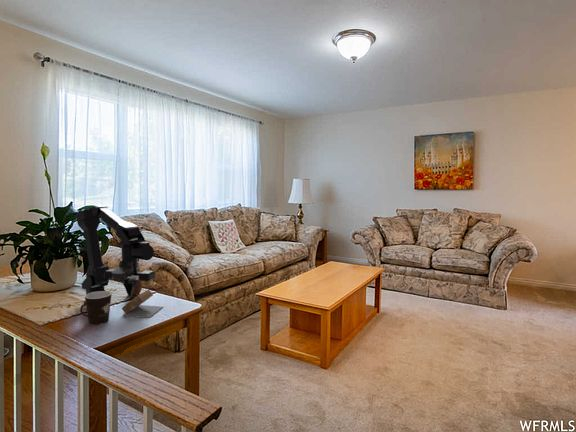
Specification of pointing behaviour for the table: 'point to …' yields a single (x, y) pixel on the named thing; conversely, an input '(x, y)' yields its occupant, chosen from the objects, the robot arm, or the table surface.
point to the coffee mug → (97, 307)
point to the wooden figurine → (137, 288)
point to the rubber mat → (144, 311)
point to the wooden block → (137, 301)
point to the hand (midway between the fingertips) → (130, 295)
